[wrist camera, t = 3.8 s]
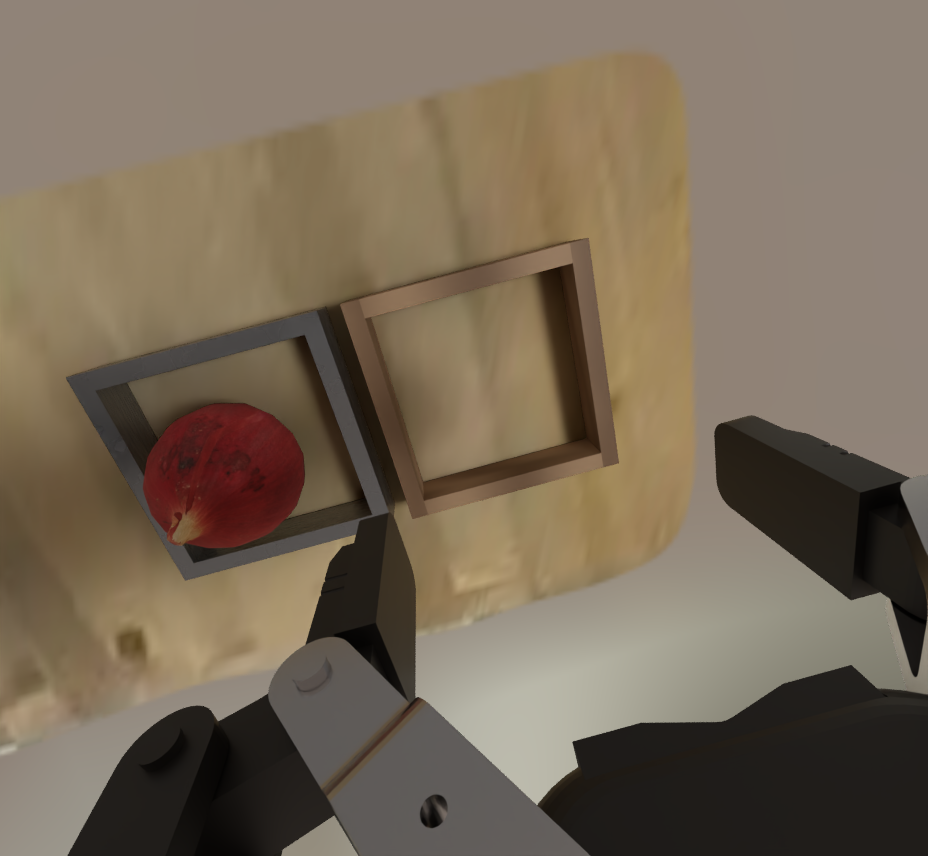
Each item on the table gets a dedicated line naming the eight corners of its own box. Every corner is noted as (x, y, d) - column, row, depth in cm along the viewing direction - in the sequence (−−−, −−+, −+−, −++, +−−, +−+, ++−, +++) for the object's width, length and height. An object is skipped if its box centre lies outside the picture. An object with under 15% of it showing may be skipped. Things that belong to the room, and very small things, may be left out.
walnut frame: (412, 499, 24) (412, 518, 22) (347, 300, 20) (339, 304, 18) (603, 447, 24) (618, 463, 22) (572, 240, 20) (588, 237, 18)
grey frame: (203, 555, 24) (185, 580, 22) (98, 367, 20) (65, 377, 18) (394, 504, 24) (393, 524, 22) (325, 306, 20) (316, 310, 18)
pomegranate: (185, 385, 21) (56, 452, 13) (313, 383, 21) (257, 446, 14) (209, 496, 23) (108, 608, 15) (325, 491, 23) (281, 598, 16)
